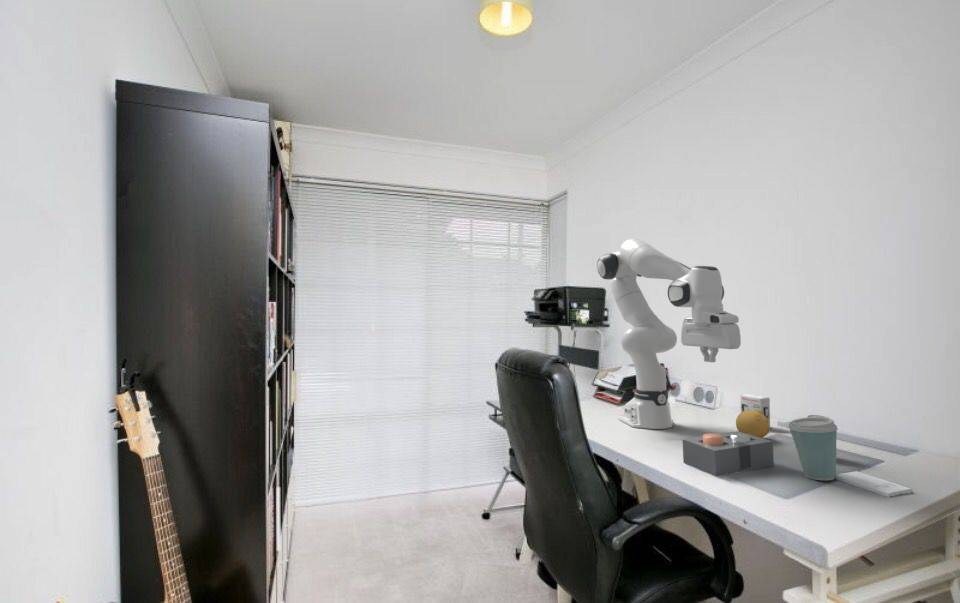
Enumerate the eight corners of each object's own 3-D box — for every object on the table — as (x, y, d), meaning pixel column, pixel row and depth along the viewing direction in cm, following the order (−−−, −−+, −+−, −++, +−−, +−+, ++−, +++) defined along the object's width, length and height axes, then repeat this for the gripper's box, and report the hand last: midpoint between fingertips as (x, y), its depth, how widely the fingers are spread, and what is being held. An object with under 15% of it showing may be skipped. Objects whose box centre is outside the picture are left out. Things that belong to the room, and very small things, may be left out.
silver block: (726, 457, 134) (725, 433, 134) (740, 455, 136) (739, 431, 136) (741, 462, 129) (740, 438, 129) (755, 460, 131) (754, 436, 131)
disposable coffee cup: (808, 484, 114) (800, 425, 115) (787, 470, 125) (779, 416, 126) (854, 482, 113) (845, 422, 114) (828, 468, 123) (820, 414, 124)
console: (683, 462, 134) (682, 439, 134) (738, 453, 140) (737, 431, 140) (715, 476, 122) (714, 450, 122) (773, 465, 128) (772, 441, 129)
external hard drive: (858, 476, 120) (913, 494, 108) (834, 480, 118) (888, 499, 106) (857, 470, 120) (912, 487, 108) (834, 474, 118) (888, 492, 106)
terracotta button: (699, 458, 131) (698, 434, 131) (713, 456, 133) (712, 432, 133) (714, 464, 126) (712, 439, 126) (728, 461, 128) (727, 437, 128)
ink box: (740, 425, 171) (738, 394, 171) (749, 424, 173) (747, 393, 174) (762, 431, 163) (760, 398, 163) (771, 429, 165) (770, 397, 166)
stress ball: (733, 441, 156) (742, 428, 148) (731, 415, 162) (739, 402, 154) (765, 447, 153) (776, 434, 146) (762, 421, 159) (772, 407, 151)
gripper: (675, 317, 148) (677, 359, 148) (726, 317, 129) (728, 366, 128) (690, 316, 150) (692, 358, 150) (743, 317, 131) (745, 364, 130)
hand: (709, 361), depth 139 cm, fingers closed
